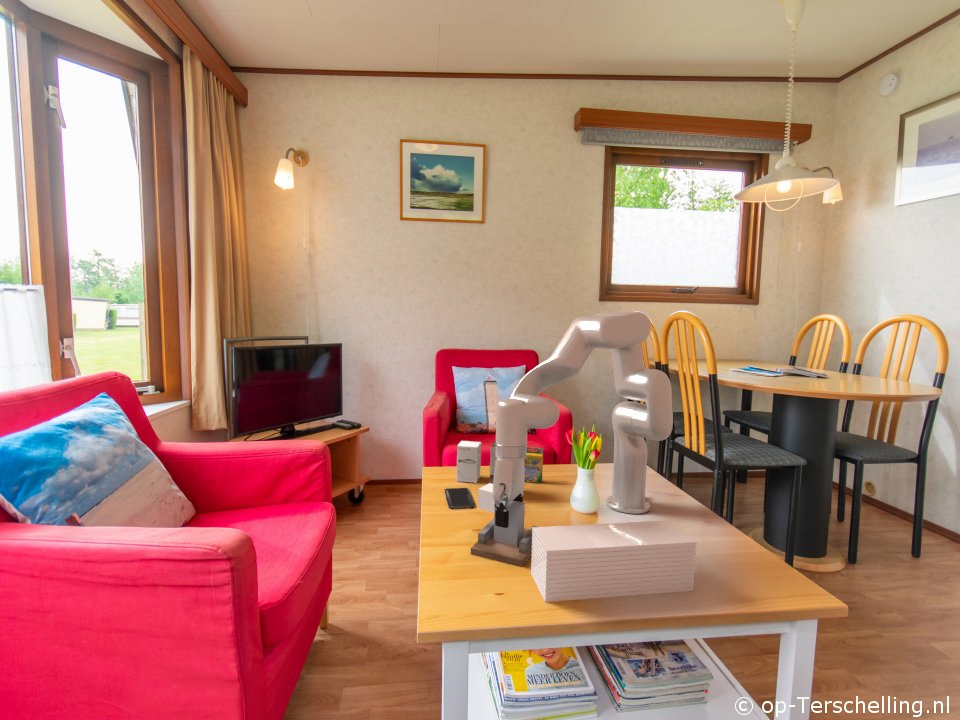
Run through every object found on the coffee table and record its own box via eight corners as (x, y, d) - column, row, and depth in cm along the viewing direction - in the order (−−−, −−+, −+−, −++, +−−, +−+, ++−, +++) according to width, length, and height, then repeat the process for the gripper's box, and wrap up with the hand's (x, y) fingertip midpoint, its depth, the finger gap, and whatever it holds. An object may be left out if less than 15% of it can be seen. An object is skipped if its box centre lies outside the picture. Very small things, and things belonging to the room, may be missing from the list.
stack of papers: (665, 565, 110) (668, 520, 109) (693, 591, 100) (696, 541, 99) (530, 574, 105) (532, 527, 104) (545, 603, 94) (546, 550, 93)
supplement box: (455, 482, 162) (456, 445, 161) (460, 475, 169) (460, 440, 168) (477, 483, 161) (478, 446, 160) (480, 476, 168) (481, 441, 167)
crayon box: (519, 481, 164) (520, 448, 162) (521, 479, 166) (522, 446, 165) (541, 483, 162) (542, 450, 161) (542, 481, 165) (543, 448, 164)
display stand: (496, 527, 127) (497, 513, 127) (543, 537, 122) (544, 522, 122) (470, 553, 113) (470, 537, 113) (522, 566, 108) (523, 549, 107)
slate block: (501, 533, 121) (502, 498, 120) (523, 538, 118) (524, 502, 118) (493, 541, 116) (494, 505, 116) (516, 546, 114) (517, 510, 113)
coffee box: (509, 499, 148) (510, 448, 146) (488, 497, 149) (489, 446, 147) (513, 489, 156) (514, 440, 155) (493, 487, 158) (494, 439, 156)
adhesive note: (506, 507, 142) (506, 487, 141) (495, 513, 137) (495, 493, 136) (489, 502, 145) (489, 483, 145) (477, 508, 140) (478, 488, 140)
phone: (449, 506, 139) (444, 488, 154) (448, 510, 139) (444, 491, 154) (475, 505, 140) (468, 487, 155) (475, 509, 140) (468, 490, 155)
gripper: (509, 440, 125) (507, 503, 126) (482, 457, 109) (480, 529, 111) (537, 444, 122) (535, 509, 123) (512, 462, 106) (510, 536, 107)
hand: (509, 518), depth 117 cm, fingers open, 9 cm apart
